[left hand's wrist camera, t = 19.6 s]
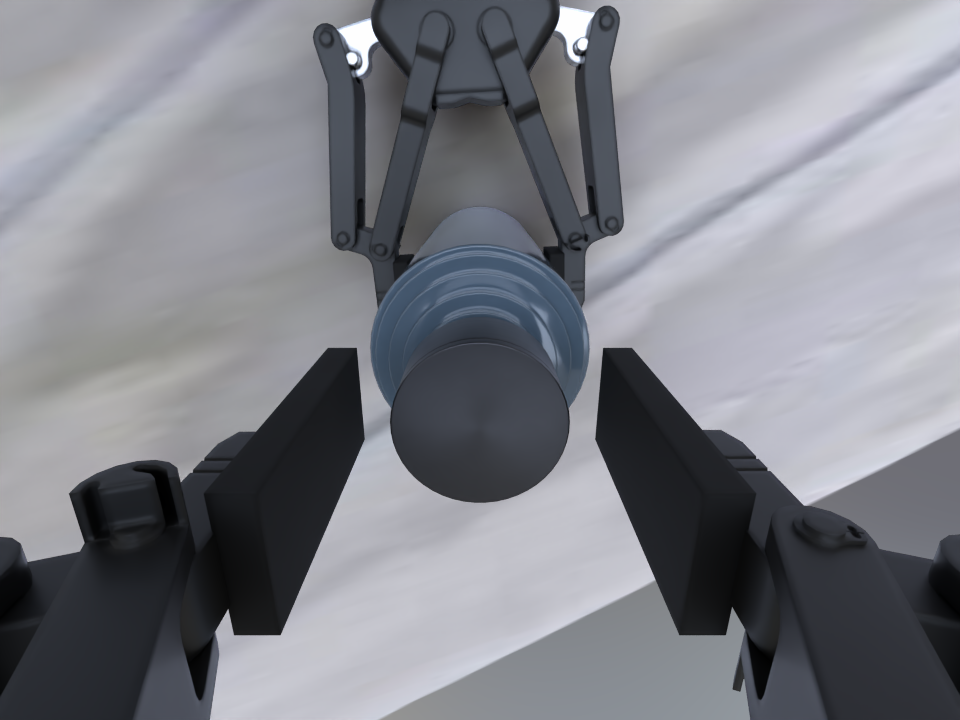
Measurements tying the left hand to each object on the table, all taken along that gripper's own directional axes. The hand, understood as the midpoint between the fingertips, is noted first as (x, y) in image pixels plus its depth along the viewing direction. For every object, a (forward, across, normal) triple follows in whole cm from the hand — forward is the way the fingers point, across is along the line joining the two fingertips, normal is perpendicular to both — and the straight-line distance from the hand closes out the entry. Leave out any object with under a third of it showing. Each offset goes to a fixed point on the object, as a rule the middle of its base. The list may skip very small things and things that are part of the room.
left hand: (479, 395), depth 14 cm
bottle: (+21, 0, 0) cm, 21 cm away
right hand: (+15, 0, -5) cm, 16 cm away
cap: (-2, 0, 0) cm, 2 cm away
